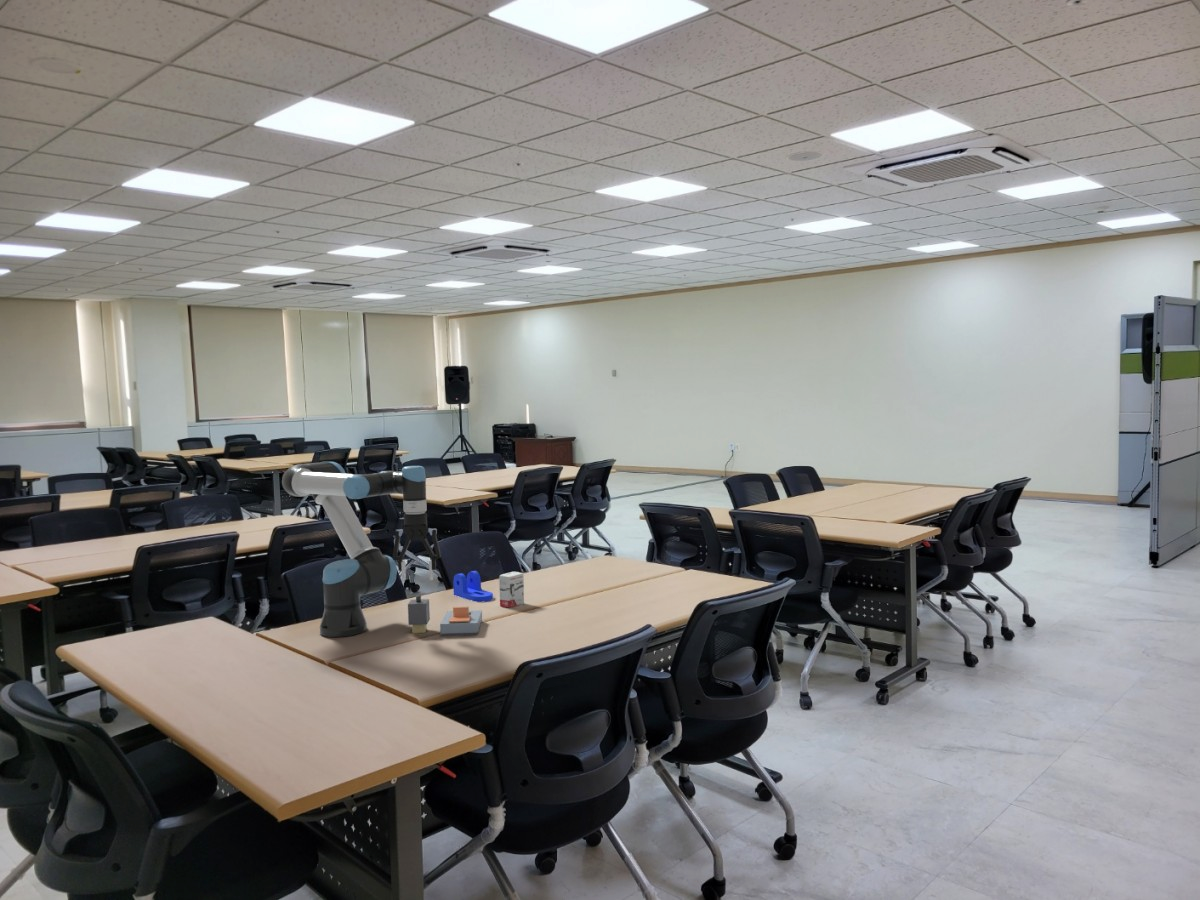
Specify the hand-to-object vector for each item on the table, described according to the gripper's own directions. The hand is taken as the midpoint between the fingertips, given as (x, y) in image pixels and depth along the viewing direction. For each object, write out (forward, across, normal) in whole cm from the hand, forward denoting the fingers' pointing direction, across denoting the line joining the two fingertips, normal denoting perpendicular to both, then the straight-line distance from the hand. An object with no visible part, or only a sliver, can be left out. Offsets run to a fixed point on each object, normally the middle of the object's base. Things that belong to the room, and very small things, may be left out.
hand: (417, 579), depth 277 cm
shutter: (+13, +14, -3) cm, 19 cm away
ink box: (+18, +29, +31) cm, 46 cm away
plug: (+17, 0, 0) cm, 17 cm away
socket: (+17, +14, +1) cm, 22 cm away
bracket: (+18, +14, +46) cm, 51 cm away
